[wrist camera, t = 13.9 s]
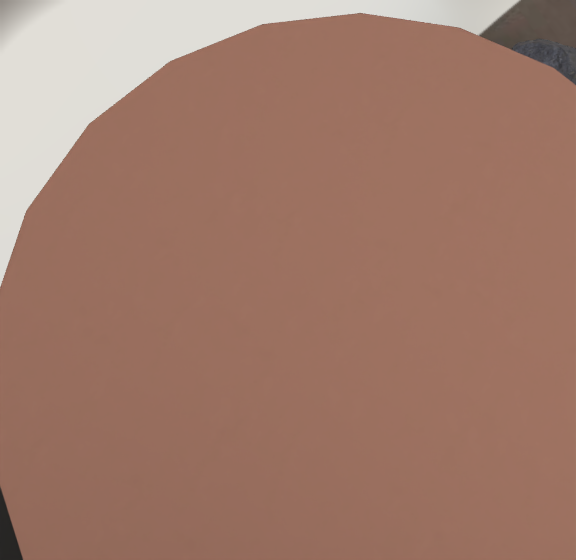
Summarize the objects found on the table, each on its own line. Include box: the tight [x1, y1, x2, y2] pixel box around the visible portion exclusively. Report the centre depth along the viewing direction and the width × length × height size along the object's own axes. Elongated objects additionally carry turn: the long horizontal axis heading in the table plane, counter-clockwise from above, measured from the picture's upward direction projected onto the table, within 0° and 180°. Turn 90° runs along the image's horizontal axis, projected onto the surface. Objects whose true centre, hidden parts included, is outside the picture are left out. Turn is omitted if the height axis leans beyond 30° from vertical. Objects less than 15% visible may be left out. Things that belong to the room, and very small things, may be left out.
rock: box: [512, 39, 576, 85], centre depth 36 cm, size 9×6×10 cm
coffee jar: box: [0, 13, 576, 560], centre depth 15 cm, size 11×11×18 cm
